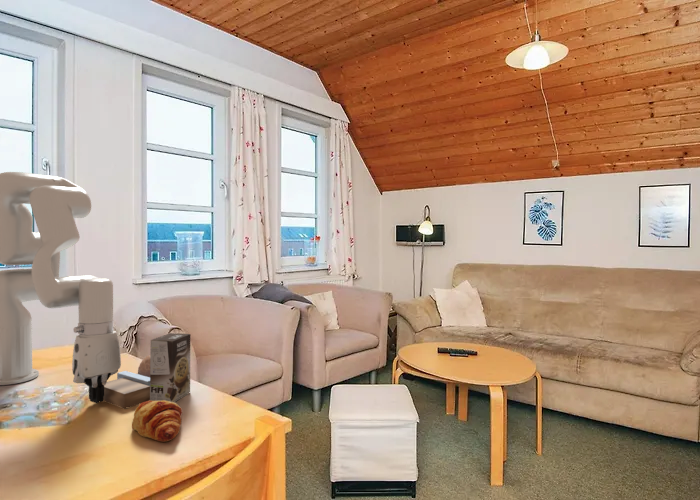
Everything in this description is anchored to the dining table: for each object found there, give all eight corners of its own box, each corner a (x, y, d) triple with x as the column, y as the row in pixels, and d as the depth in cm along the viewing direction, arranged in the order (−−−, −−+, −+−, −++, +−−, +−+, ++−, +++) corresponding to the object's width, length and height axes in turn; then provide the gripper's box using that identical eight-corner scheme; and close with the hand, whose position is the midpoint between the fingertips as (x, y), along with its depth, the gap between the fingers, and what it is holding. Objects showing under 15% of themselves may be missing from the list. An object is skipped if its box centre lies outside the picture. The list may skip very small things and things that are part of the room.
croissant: (132, 430, 109) (114, 404, 106) (170, 402, 114) (154, 377, 112) (158, 465, 92) (138, 435, 90) (202, 430, 97) (184, 401, 95)
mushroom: (164, 385, 130) (164, 357, 129) (140, 389, 126) (140, 360, 126) (159, 378, 136) (159, 351, 136) (136, 381, 133) (136, 354, 132)
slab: (97, 399, 119) (97, 384, 119) (123, 392, 125) (123, 377, 125) (124, 410, 113) (124, 394, 113) (150, 401, 119) (150, 386, 118)
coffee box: (171, 404, 116) (172, 341, 115) (149, 402, 117) (149, 339, 116) (191, 392, 125) (191, 333, 124) (170, 390, 126) (170, 332, 125)
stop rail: (117, 388, 126) (117, 372, 126) (125, 386, 129) (125, 370, 128) (147, 398, 120) (147, 381, 120) (155, 395, 122) (155, 379, 122)
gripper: (74, 336, 106) (74, 414, 107) (133, 325, 119) (133, 395, 119) (56, 331, 110) (56, 407, 110) (115, 321, 122) (115, 389, 123)
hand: (96, 401), depth 115 cm, fingers closed
